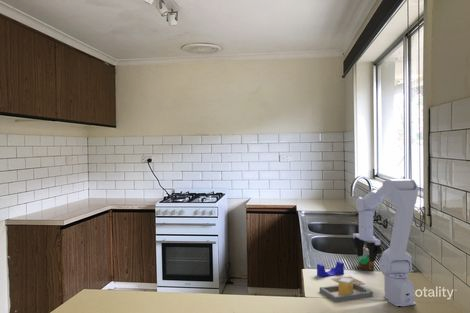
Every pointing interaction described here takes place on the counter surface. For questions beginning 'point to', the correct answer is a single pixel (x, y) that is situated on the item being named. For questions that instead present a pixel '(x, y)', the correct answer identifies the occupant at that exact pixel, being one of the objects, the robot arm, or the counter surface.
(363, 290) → the parts tray
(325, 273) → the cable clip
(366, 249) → the food container
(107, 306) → the counter surface
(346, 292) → the yellow and white block
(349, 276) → the brown square tile
